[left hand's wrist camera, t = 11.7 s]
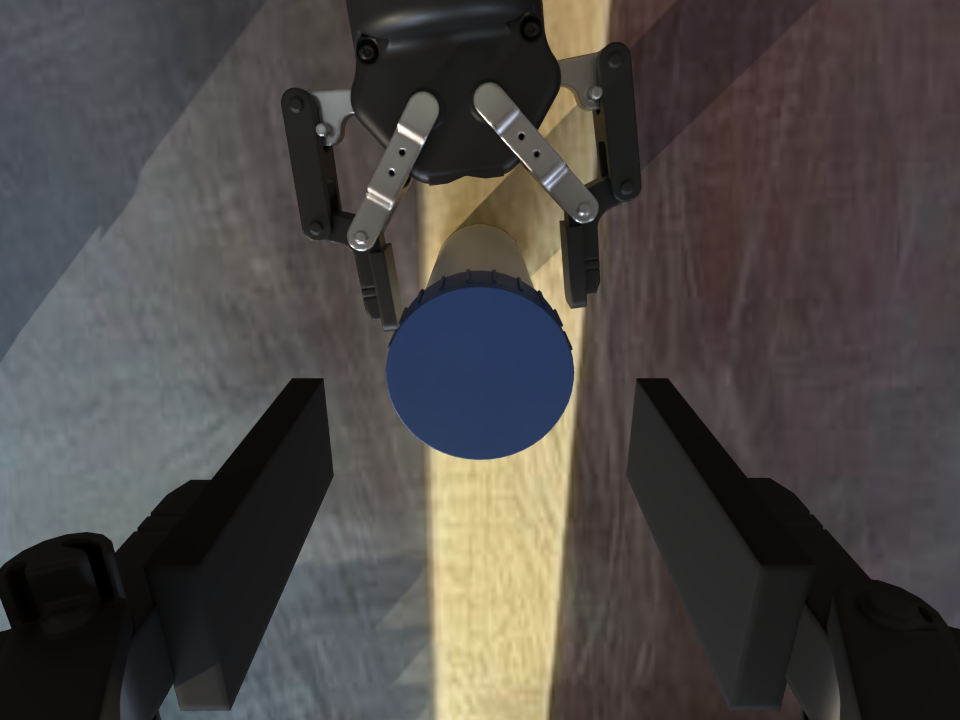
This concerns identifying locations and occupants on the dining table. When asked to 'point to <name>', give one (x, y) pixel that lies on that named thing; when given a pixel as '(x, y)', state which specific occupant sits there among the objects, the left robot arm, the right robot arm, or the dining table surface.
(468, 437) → the lid
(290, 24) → the dining table surface
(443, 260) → the white bottle
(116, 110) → the dining table surface
